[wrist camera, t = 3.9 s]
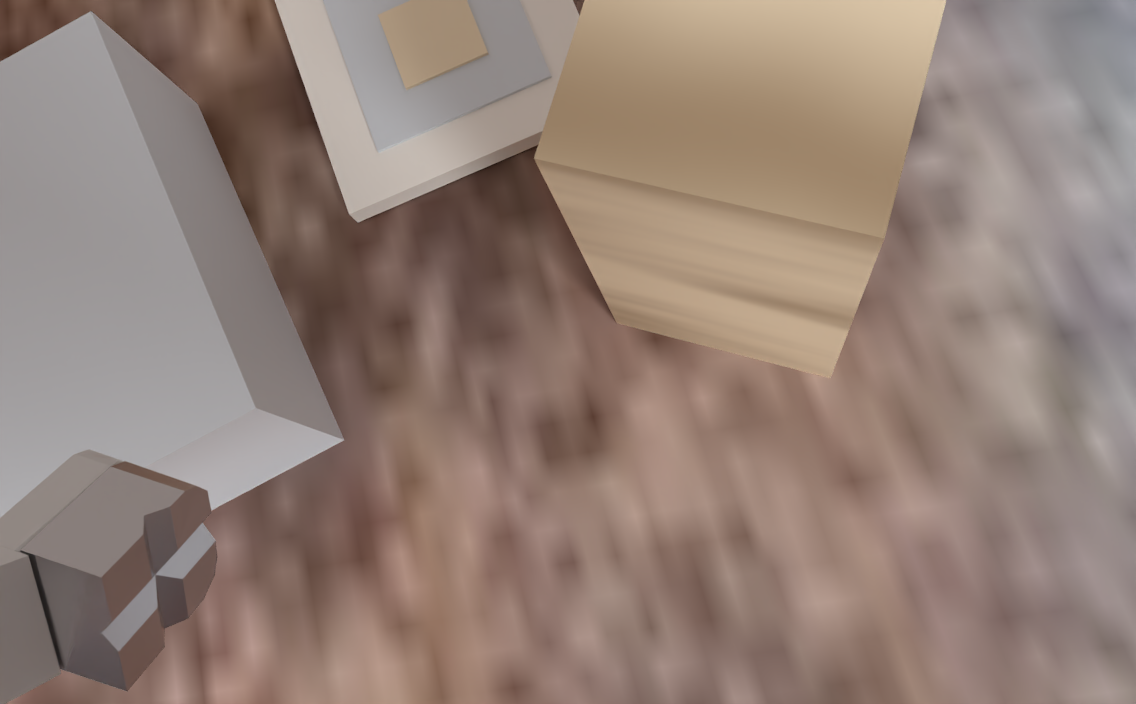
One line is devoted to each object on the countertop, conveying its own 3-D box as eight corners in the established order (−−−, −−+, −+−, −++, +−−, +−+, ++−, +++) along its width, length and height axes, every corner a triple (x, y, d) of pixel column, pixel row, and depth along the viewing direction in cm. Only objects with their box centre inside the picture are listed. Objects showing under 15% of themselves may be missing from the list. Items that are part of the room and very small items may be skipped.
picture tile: (520, -117, 28) (513, -137, 27) (618, 110, 26) (614, 95, 25) (277, -8, 28) (264, -24, 28) (357, 222, 27) (346, 212, 26)
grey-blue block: (202, 108, 28) (90, 10, 24) (348, 441, 26) (255, 408, 21) (-120, 285, 29) (-294, 225, 24) (-9, 630, 26) (-180, 640, 22)
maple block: (675, 127, 26) (630, -145, 16) (884, 172, 25) (970, -91, 15) (616, 323, 25) (533, 159, 15) (830, 378, 24) (883, 238, 14)
